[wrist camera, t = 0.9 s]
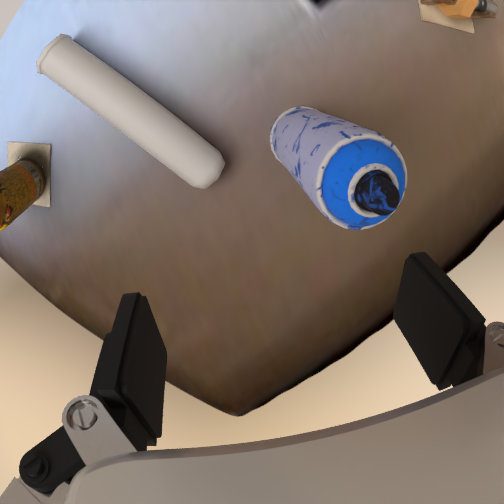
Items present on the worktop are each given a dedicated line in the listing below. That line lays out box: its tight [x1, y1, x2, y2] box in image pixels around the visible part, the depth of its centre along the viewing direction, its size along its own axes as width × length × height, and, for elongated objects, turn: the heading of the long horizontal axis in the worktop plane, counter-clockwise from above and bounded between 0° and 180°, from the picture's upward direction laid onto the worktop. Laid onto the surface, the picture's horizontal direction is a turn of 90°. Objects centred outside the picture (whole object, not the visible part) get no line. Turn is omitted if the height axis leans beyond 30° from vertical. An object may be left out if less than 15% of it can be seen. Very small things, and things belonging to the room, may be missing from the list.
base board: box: [418, 0, 495, 34], centre depth 23 cm, size 8×10×6 cm
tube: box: [36, 34, 225, 189], centre depth 29 cm, size 5×5×25 cm
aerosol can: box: [270, 106, 407, 230], centre depth 27 cm, size 8×8×20 cm
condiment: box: [0, 142, 50, 231], centre depth 27 cm, size 7×8×12 cm
